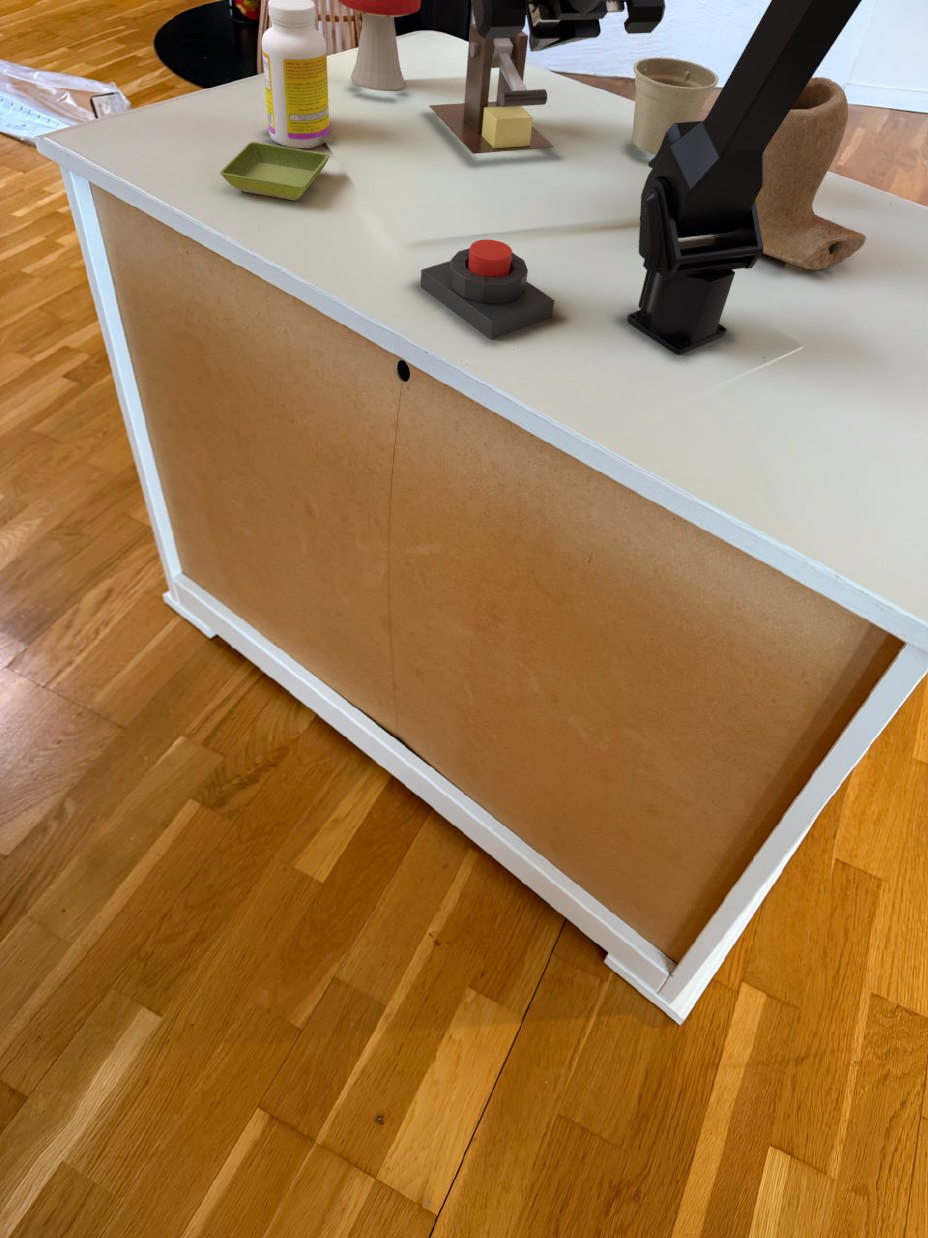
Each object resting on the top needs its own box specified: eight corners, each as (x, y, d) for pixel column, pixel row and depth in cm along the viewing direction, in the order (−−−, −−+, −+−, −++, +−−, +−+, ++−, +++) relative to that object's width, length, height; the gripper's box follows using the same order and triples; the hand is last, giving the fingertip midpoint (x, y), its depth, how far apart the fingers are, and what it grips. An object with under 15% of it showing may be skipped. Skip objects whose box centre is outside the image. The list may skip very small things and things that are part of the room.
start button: (518, 272, 76) (520, 253, 75) (485, 283, 75) (487, 263, 73) (491, 255, 78) (494, 235, 77) (459, 264, 76) (461, 245, 75)
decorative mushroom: (428, 89, 112) (435, -57, 101) (400, 111, 106) (404, -41, 95) (356, 73, 114) (355, -73, 102) (325, 94, 108) (320, -58, 97)
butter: (529, 145, 100) (533, 117, 97) (493, 148, 98) (496, 119, 96) (516, 133, 102) (520, 104, 100) (481, 135, 100) (483, 106, 98)
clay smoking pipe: (671, 234, 91) (714, 70, 79) (735, 204, 97) (783, 47, 85) (800, 296, 84) (866, 126, 73) (859, 260, 90) (929, 98, 79)
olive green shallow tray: (252, 160, 94) (250, 139, 93) (331, 174, 93) (330, 153, 92) (220, 194, 88) (218, 172, 87) (305, 209, 88) (303, 187, 86)
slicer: (553, 157, 101) (569, 49, 93) (471, 164, 98) (481, 53, 90) (504, 110, 109) (515, 7, 101) (428, 115, 106) (432, 10, 98)
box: (551, 317, 78) (558, 280, 75) (490, 340, 75) (494, 301, 72) (480, 268, 83) (484, 231, 80) (420, 287, 80) (422, 249, 77)
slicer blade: (543, 111, 96) (549, 90, 94) (501, 114, 94) (506, 92, 92) (511, 50, 99) (516, 28, 97) (469, 51, 98) (474, 29, 96)
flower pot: (713, 163, 104) (736, 80, 97) (654, 176, 100) (674, 91, 93) (659, 133, 109) (678, 52, 102) (601, 145, 105) (616, 62, 98)
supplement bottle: (341, 138, 100) (339, 3, 90) (304, 155, 96) (297, 17, 86) (295, 121, 102) (287, -12, 92) (256, 138, 98) (244, 0, 88)
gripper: (682, -158, 77) (598, -39, 92) (484, -166, 71) (429, -38, 86) (704, -23, 78) (619, 73, 93) (512, -20, 73) (453, 82, 87)
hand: (532, 46), depth 90 cm, fingers closed
